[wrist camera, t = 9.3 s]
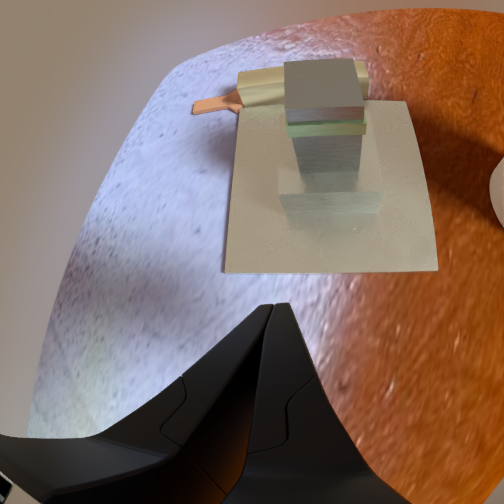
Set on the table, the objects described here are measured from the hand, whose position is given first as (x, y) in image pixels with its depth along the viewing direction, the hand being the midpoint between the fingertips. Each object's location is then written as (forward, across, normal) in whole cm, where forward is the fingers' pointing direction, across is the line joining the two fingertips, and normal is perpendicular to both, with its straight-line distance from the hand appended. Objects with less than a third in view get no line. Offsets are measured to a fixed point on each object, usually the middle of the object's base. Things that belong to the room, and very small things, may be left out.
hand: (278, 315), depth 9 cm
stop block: (+25, -1, -7) cm, 26 cm away
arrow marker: (+25, +8, -8) cm, 27 cm away
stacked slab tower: (+18, -2, +1) cm, 18 cm away
